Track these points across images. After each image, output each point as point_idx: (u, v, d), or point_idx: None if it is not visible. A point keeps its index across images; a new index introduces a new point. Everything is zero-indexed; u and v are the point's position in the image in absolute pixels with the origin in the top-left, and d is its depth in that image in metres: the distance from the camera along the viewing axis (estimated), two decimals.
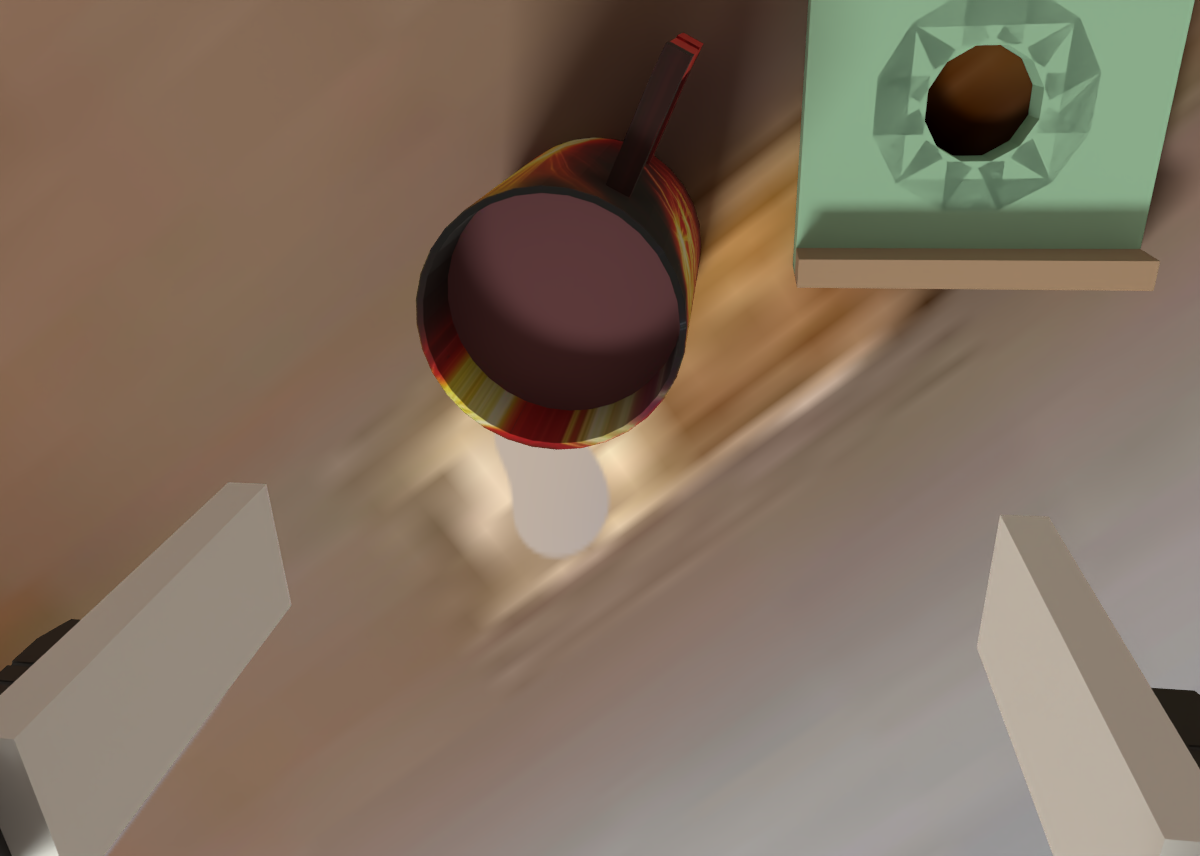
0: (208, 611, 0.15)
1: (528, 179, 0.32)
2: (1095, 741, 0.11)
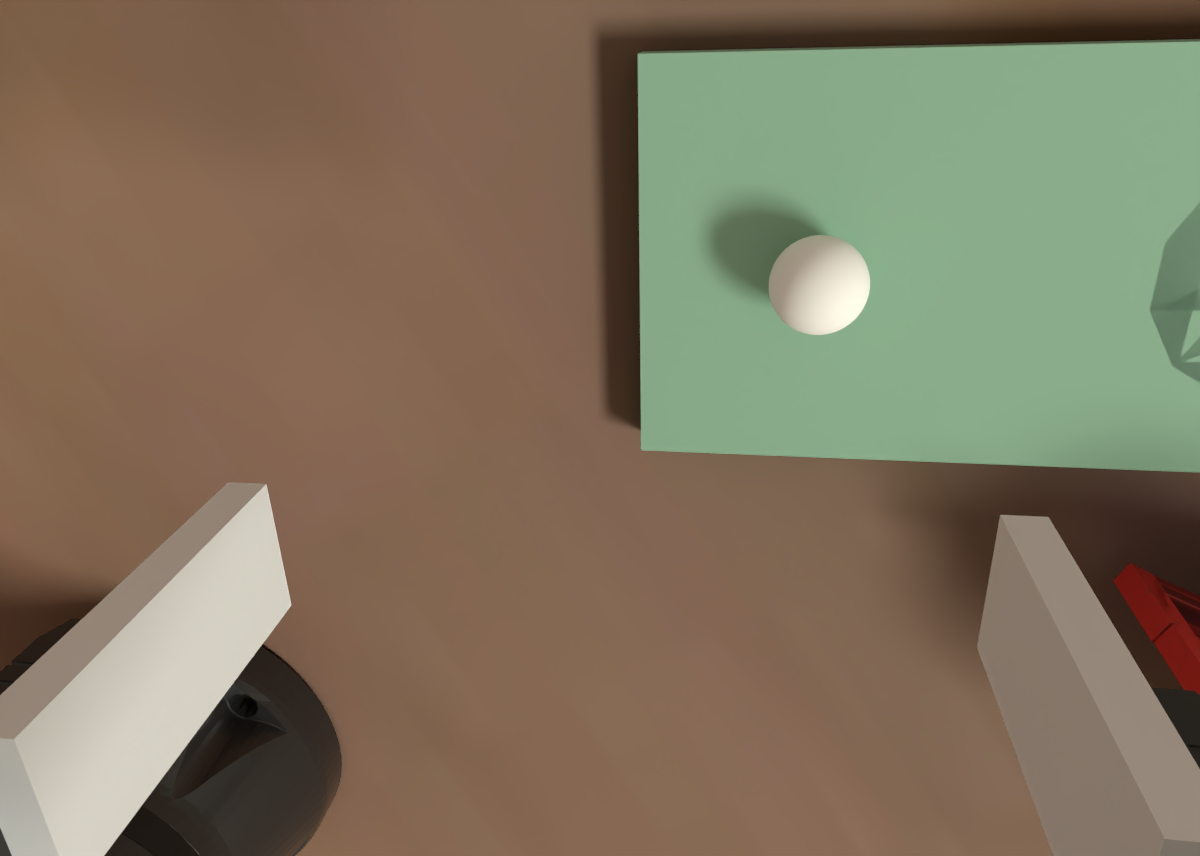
0: (208, 611, 0.15)
1: None
2: (1095, 741, 0.11)
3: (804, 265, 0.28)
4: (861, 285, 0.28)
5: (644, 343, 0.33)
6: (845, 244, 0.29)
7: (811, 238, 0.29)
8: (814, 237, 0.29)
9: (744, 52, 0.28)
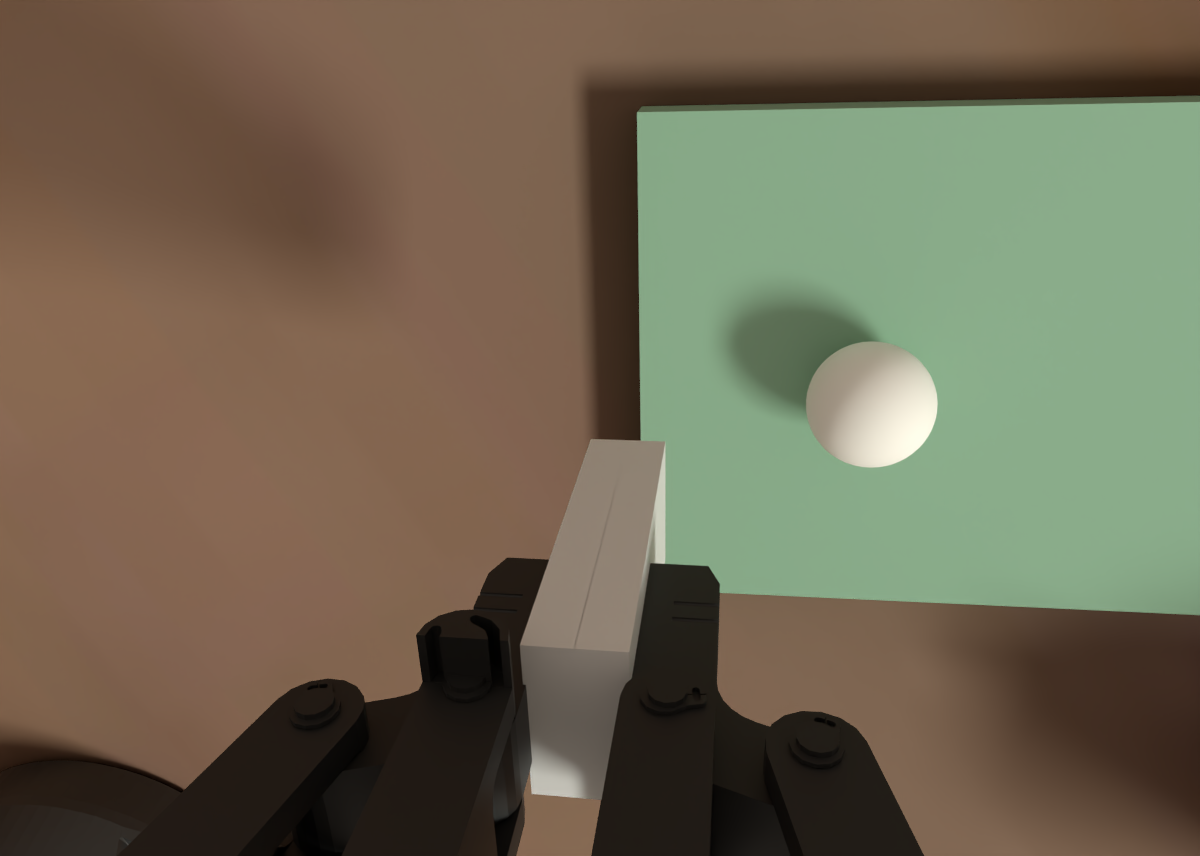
0: None
1: None
2: None
3: (856, 385, 0.22)
4: (929, 409, 0.22)
5: None
6: (906, 356, 0.22)
7: (862, 347, 0.23)
8: (866, 346, 0.23)
9: (774, 111, 0.22)
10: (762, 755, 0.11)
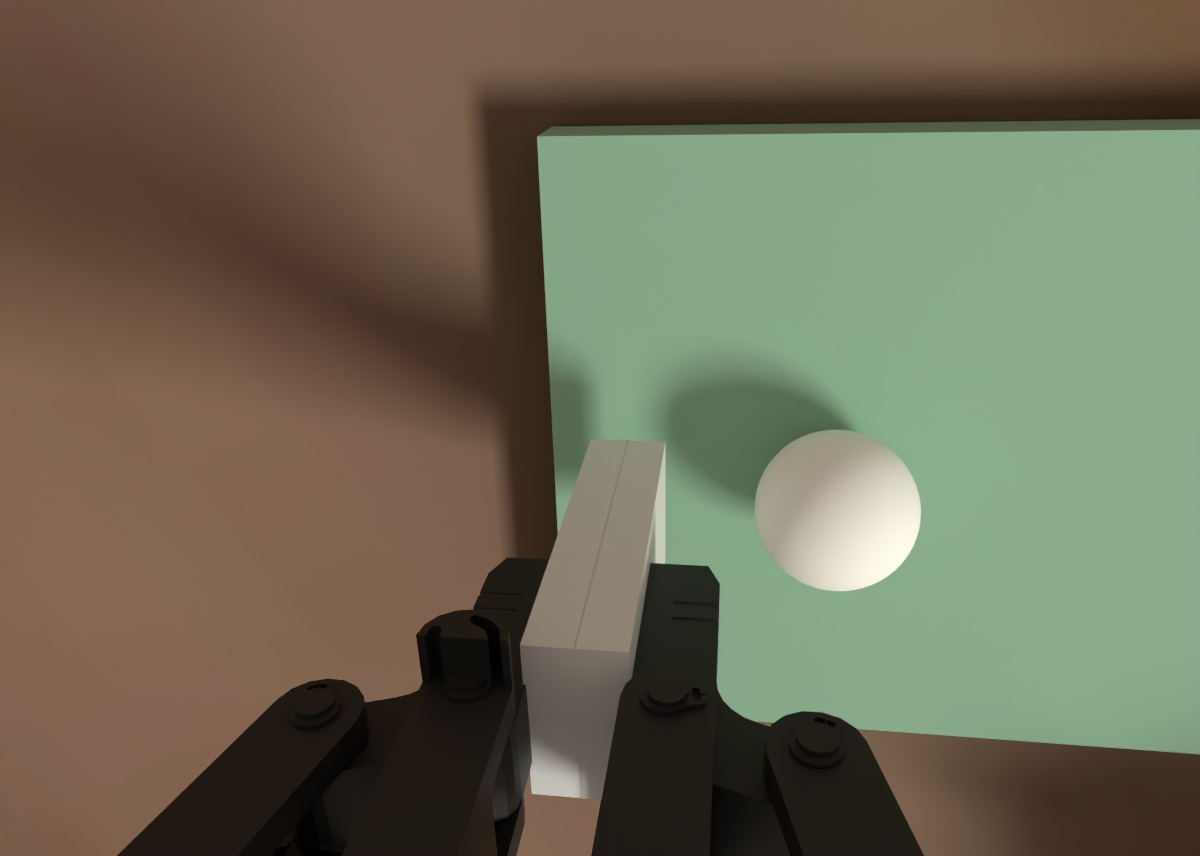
0: None
1: None
2: None
3: (814, 494, 0.17)
4: (910, 524, 0.17)
5: None
6: (881, 453, 0.17)
7: (824, 441, 0.17)
8: (829, 438, 0.18)
9: (712, 136, 0.17)
10: (762, 755, 0.11)
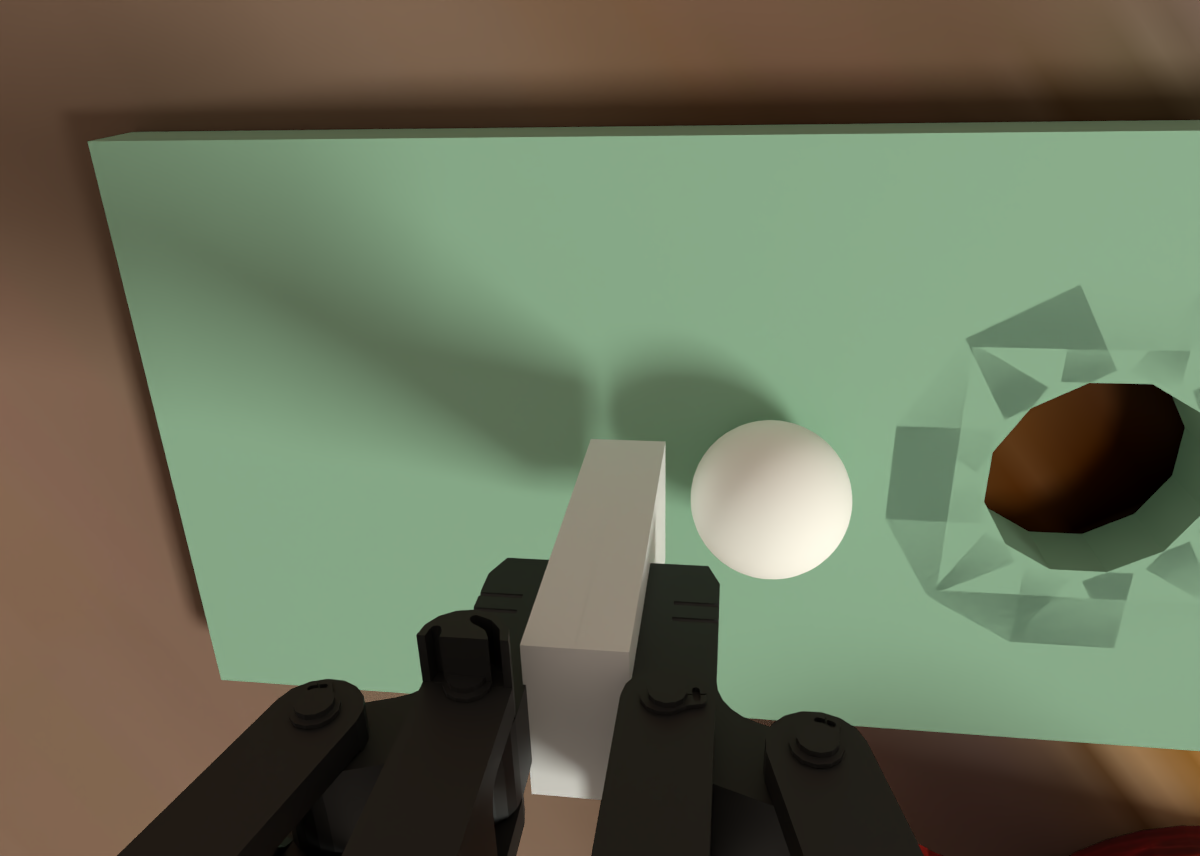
0: None
1: None
2: None
3: (707, 452, 0.18)
4: (748, 523, 0.17)
5: (193, 543, 0.23)
6: (775, 454, 0.17)
7: (761, 423, 0.18)
8: (766, 423, 0.18)
9: (240, 141, 0.18)
10: (762, 755, 0.11)
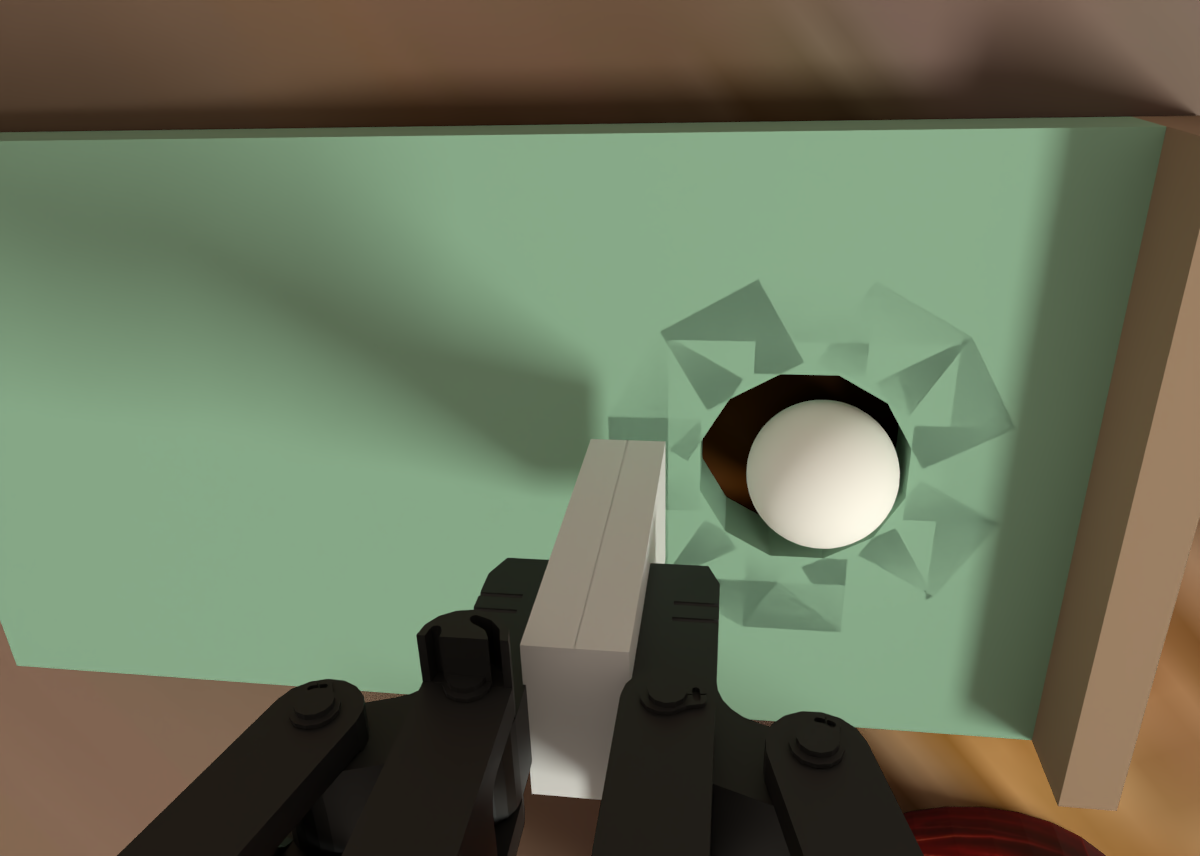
0: None
1: None
2: None
3: None
4: (748, 456, 0.20)
5: None
6: (789, 423, 0.19)
7: (836, 405, 0.19)
8: (834, 407, 0.19)
9: None
10: (762, 755, 0.11)
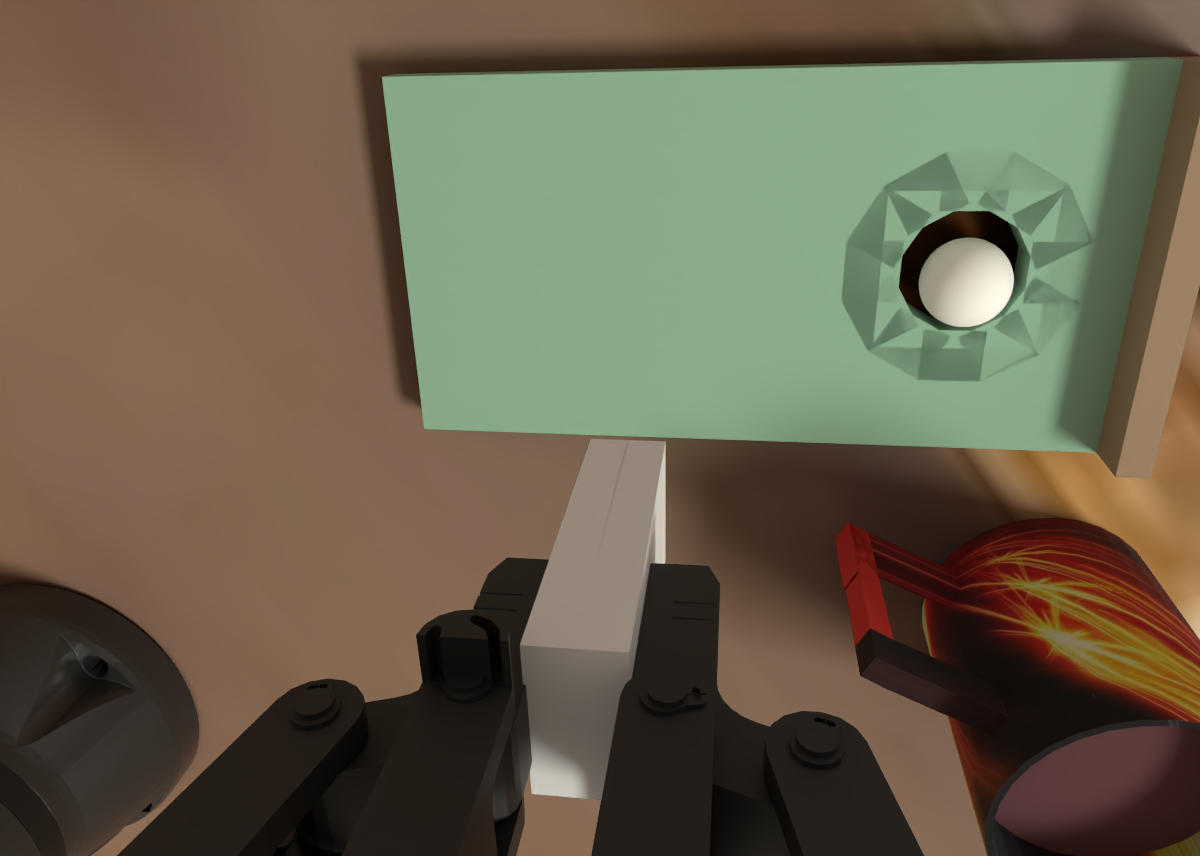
0: None
1: (973, 801, 0.32)
2: None
3: None
4: None
5: (416, 332, 0.37)
6: (947, 251, 0.32)
7: (977, 241, 0.32)
8: (976, 243, 0.32)
9: (471, 75, 0.33)
10: (762, 755, 0.11)
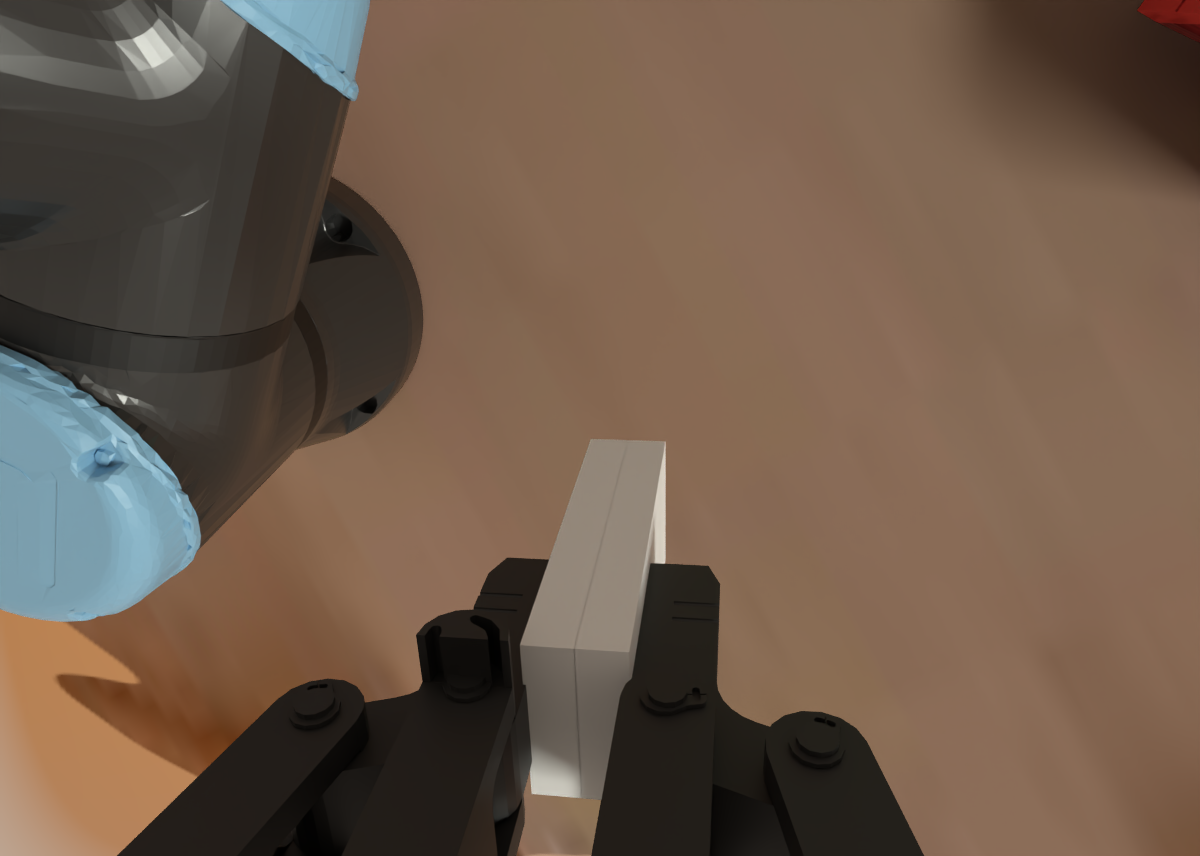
0: None
1: None
2: None
3: None
4: None
5: None
6: None
7: None
8: None
9: None
10: (762, 755, 0.11)
